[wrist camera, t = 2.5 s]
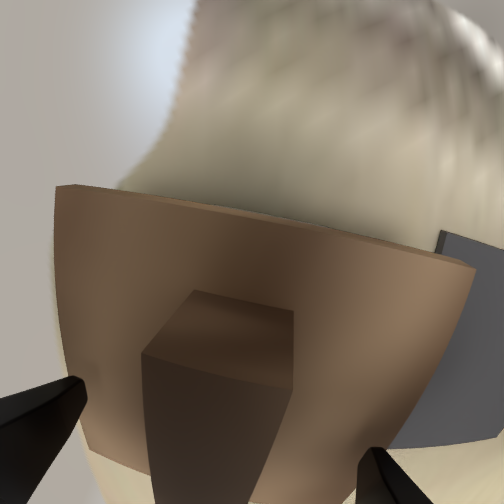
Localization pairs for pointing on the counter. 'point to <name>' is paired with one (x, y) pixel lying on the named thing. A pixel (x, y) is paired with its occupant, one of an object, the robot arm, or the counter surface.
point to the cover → (243, 343)
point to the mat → (466, 360)
